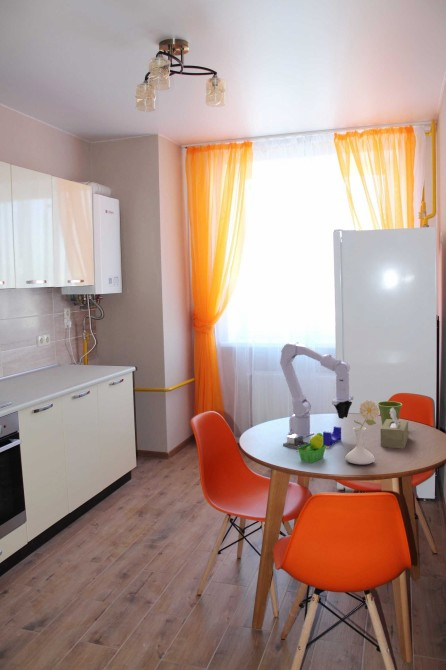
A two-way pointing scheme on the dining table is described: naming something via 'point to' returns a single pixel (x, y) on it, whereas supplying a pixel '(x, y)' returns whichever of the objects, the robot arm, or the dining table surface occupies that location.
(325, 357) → the robot arm
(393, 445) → the tissue box
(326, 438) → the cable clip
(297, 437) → the block
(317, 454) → the fruit basket
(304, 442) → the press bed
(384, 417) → the plant pot
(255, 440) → the dining table surface
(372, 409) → the flower in vase
